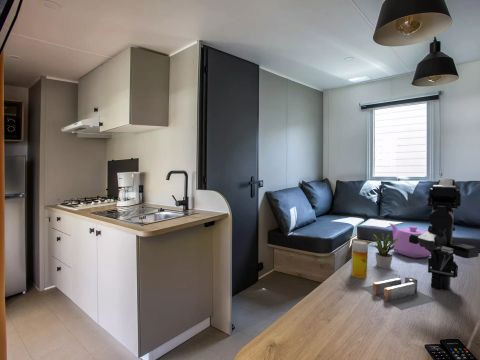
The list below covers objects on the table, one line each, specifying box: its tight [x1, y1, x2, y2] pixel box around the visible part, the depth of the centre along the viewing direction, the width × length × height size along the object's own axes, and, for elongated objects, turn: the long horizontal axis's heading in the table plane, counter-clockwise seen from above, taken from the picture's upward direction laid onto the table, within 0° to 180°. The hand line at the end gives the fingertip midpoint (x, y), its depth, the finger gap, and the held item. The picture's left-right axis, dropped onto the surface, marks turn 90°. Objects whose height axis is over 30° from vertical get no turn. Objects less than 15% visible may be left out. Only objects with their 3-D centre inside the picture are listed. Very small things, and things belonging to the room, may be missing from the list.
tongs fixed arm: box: [372, 277, 403, 297], centre depth 102 cm, size 13×1×4 cm, turn 113°
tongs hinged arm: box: [383, 276, 419, 302], centre depth 100 cm, size 18×5×4 cm, turn 113°
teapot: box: [389, 223, 431, 259], centre depth 152 cm, size 23×21×15 cm
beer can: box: [350, 240, 369, 279], centre depth 117 cm, size 6×6×15 cm
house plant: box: [368, 232, 402, 269], centre depth 127 cm, size 14×14×16 cm
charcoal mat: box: [360, 284, 438, 311], centre depth 101 cm, size 18×17×1 cm
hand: (439, 270), depth 92 cm, fingers closed
